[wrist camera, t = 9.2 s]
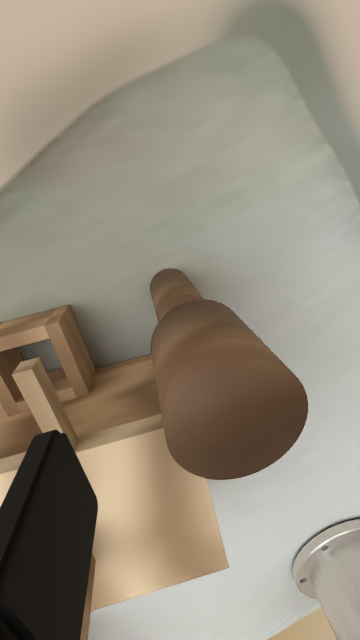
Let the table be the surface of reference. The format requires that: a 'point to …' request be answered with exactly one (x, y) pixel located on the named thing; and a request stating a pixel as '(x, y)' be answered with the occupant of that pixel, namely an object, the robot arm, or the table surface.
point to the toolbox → (70, 382)
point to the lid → (129, 502)
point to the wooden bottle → (219, 386)
